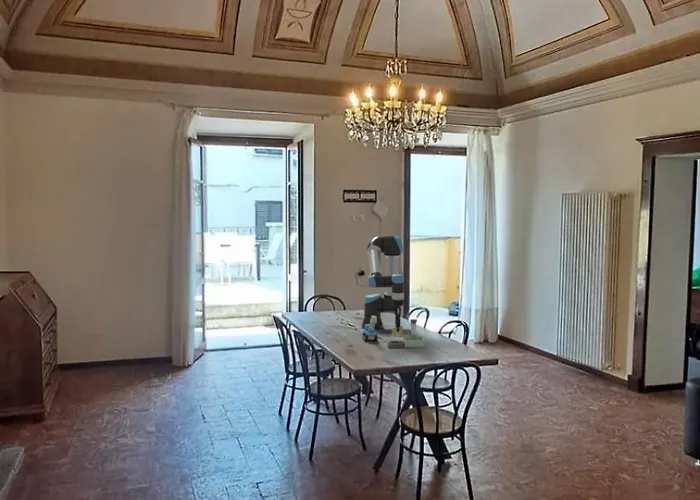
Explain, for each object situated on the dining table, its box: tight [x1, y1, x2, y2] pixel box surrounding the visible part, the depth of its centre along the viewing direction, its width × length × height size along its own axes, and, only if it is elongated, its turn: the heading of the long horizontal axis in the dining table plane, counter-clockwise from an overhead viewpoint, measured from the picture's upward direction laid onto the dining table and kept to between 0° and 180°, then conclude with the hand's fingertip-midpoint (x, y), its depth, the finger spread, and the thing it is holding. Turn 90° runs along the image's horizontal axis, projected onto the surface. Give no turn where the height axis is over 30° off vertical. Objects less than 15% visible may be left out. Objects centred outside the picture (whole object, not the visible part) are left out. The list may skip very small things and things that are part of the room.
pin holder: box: [386, 340, 404, 349], centre depth 362 cm, size 9×9×2 cm
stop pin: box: [409, 318, 418, 340], centre depth 363 cm, size 4×4×15 cm
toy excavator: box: [361, 316, 379, 342], centre depth 376 cm, size 9×17×17 cm, turn 11°
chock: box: [392, 325, 404, 338], centre depth 375 cm, size 4×6×6 cm, turn 89°
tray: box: [402, 335, 426, 349], centre depth 363 cm, size 12×12×4 cm
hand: (397, 335), depth 375 cm, fingers closed on chock, 4 cm apart
